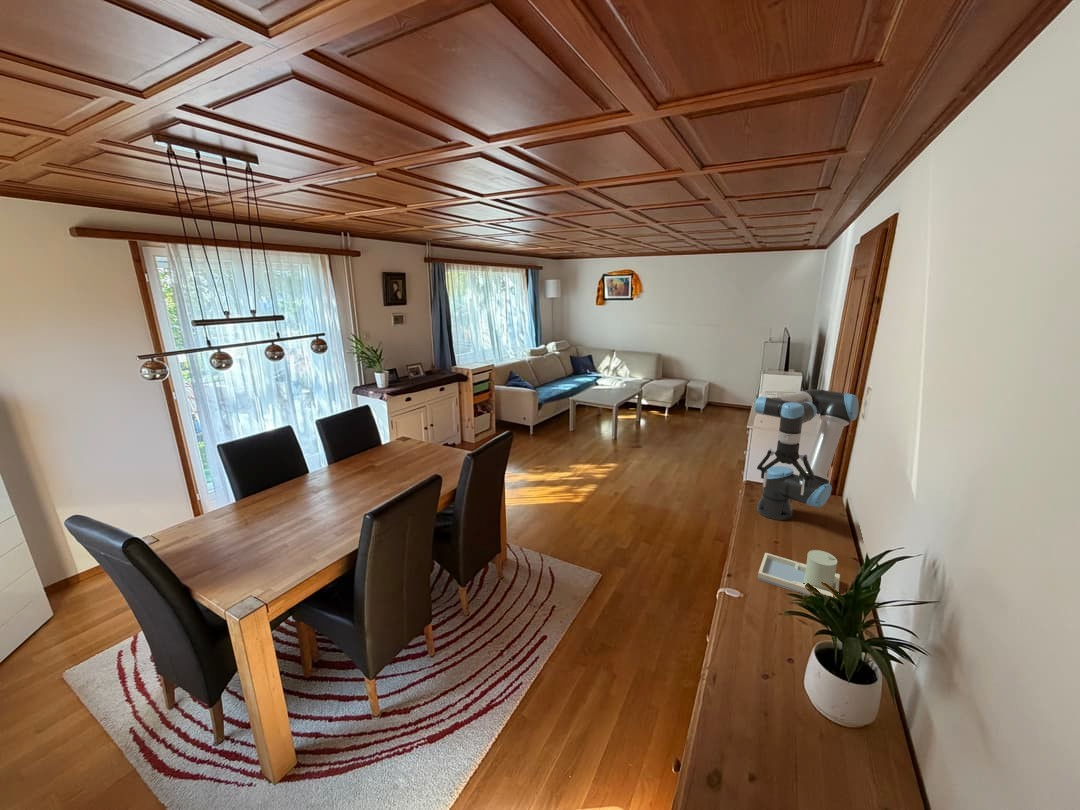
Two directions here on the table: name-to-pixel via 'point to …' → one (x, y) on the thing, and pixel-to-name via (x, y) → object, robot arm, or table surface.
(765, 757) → the table surface
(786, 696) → the table surface
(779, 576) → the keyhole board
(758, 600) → the table surface
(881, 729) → the table surface
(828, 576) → the can
